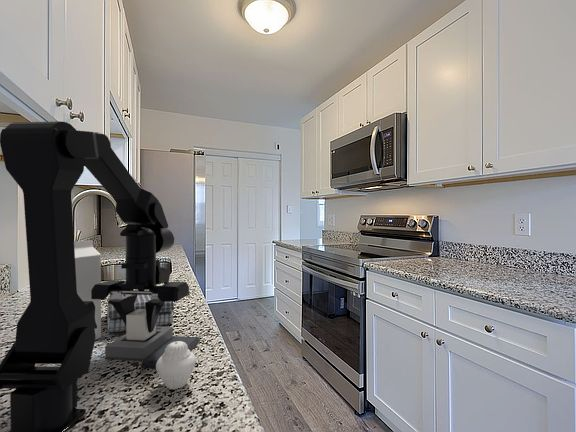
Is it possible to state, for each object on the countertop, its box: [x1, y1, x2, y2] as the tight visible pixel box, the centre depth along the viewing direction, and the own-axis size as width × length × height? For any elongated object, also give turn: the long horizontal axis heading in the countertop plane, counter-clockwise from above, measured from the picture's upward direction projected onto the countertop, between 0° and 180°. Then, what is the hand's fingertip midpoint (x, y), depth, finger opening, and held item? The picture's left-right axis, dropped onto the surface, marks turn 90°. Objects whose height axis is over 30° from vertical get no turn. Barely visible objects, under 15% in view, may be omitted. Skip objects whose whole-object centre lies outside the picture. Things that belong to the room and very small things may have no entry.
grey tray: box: [104, 326, 174, 362], centre depth 63 cm, size 11×8×2 cm
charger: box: [125, 309, 156, 340], centre depth 63 cm, size 4×4×5 cm
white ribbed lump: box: [155, 341, 197, 390], centre depth 50 cm, size 6×6×7 cm
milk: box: [74, 239, 102, 340], centre depth 67 cm, size 6×6×22 cm
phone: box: [140, 335, 201, 370], centre depth 61 cm, size 12×6×1 cm, turn 173°
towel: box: [106, 290, 175, 333], centre depth 81 cm, size 15×18×8 cm
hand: (141, 331), depth 63 cm, fingers closed on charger, 4 cm apart
